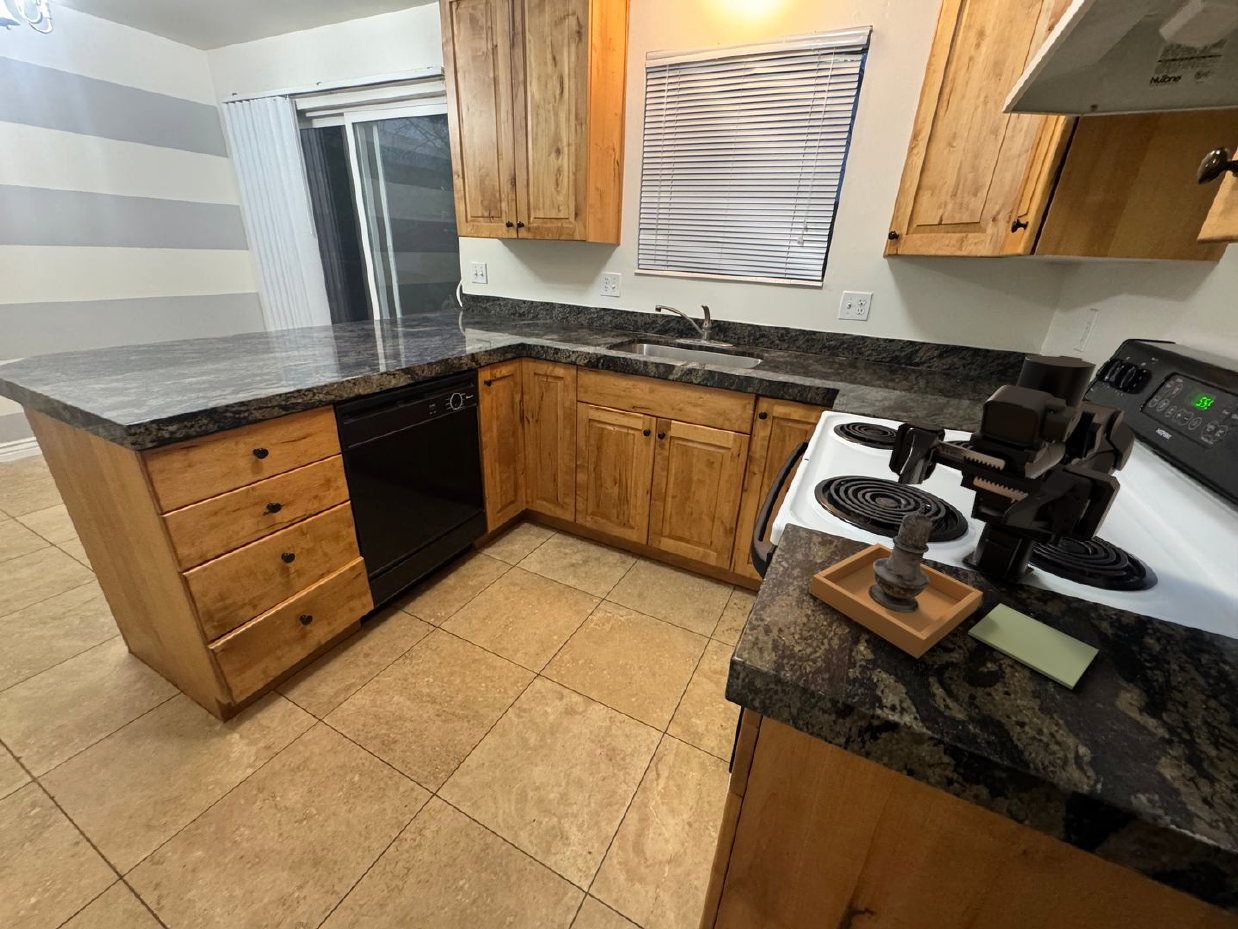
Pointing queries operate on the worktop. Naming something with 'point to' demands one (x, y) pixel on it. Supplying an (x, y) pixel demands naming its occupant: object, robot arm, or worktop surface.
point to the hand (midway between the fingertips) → (948, 497)
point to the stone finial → (903, 566)
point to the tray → (908, 631)
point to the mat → (1035, 644)
